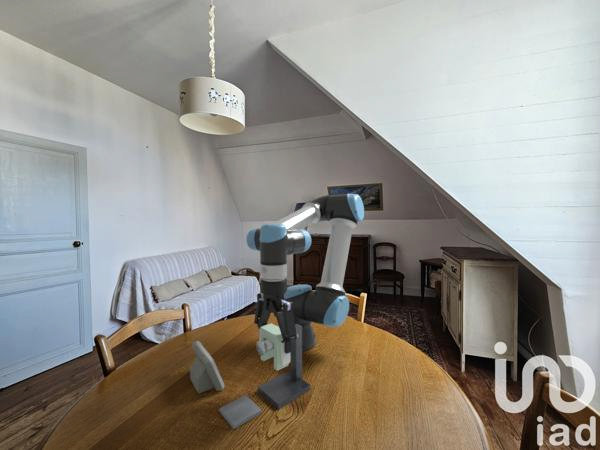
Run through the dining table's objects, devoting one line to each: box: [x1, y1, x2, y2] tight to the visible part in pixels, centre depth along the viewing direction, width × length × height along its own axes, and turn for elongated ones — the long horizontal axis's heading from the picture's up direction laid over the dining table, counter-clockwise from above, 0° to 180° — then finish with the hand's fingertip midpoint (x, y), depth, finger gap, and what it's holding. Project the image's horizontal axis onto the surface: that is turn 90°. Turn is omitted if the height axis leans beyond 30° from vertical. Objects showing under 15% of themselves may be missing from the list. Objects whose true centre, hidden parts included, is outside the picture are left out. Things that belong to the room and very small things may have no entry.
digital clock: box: [189, 340, 225, 394], centre depth 83 cm, size 16×9×11 cm, turn 25°
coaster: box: [218, 394, 262, 430], centre depth 70 cm, size 8×8×1 cm
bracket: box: [260, 323, 290, 372], centre depth 75 cm, size 8×4×10 cm, turn 42°
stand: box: [255, 324, 311, 410], centre depth 77 cm, size 10×14×18 cm
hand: (274, 356), depth 75 cm, fingers open, 10 cm apart
